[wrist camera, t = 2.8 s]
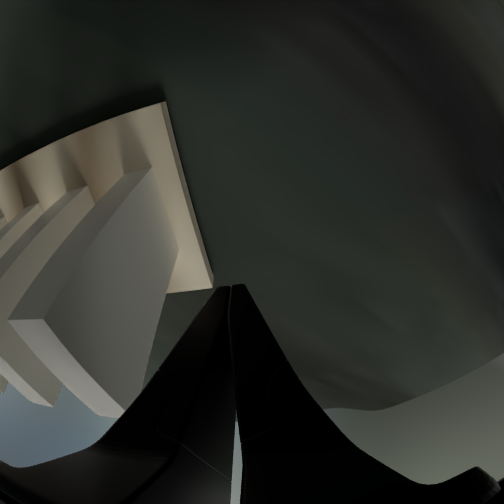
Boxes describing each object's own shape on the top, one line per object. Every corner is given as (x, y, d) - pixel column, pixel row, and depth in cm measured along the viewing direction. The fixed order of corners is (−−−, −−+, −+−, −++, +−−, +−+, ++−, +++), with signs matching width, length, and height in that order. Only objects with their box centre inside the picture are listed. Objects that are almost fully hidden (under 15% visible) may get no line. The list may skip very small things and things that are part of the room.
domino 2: (87, 185, 14) (-30, 319, 5) (119, 260, 17) (54, 407, 8) (66, 192, 14) (-46, 319, 6) (98, 263, 17) (30, 402, 8)
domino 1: (39, 202, 14) (-64, 318, 6) (71, 267, 17) (3, 393, 9) (24, 208, 14) (-73, 318, 6) (55, 270, 17) (-12, 388, 9)
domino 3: (152, 167, 13) (43, 319, 5) (179, 250, 16) (135, 419, 8) (124, 174, 14) (6, 319, 5) (153, 254, 16) (98, 415, 8)
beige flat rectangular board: (165, 101, 12) (160, 103, 12) (213, 277, 19) (212, 287, 18) (-49, 203, 14) (-56, 209, 13) (3, 301, 20) (-2, 307, 19)
